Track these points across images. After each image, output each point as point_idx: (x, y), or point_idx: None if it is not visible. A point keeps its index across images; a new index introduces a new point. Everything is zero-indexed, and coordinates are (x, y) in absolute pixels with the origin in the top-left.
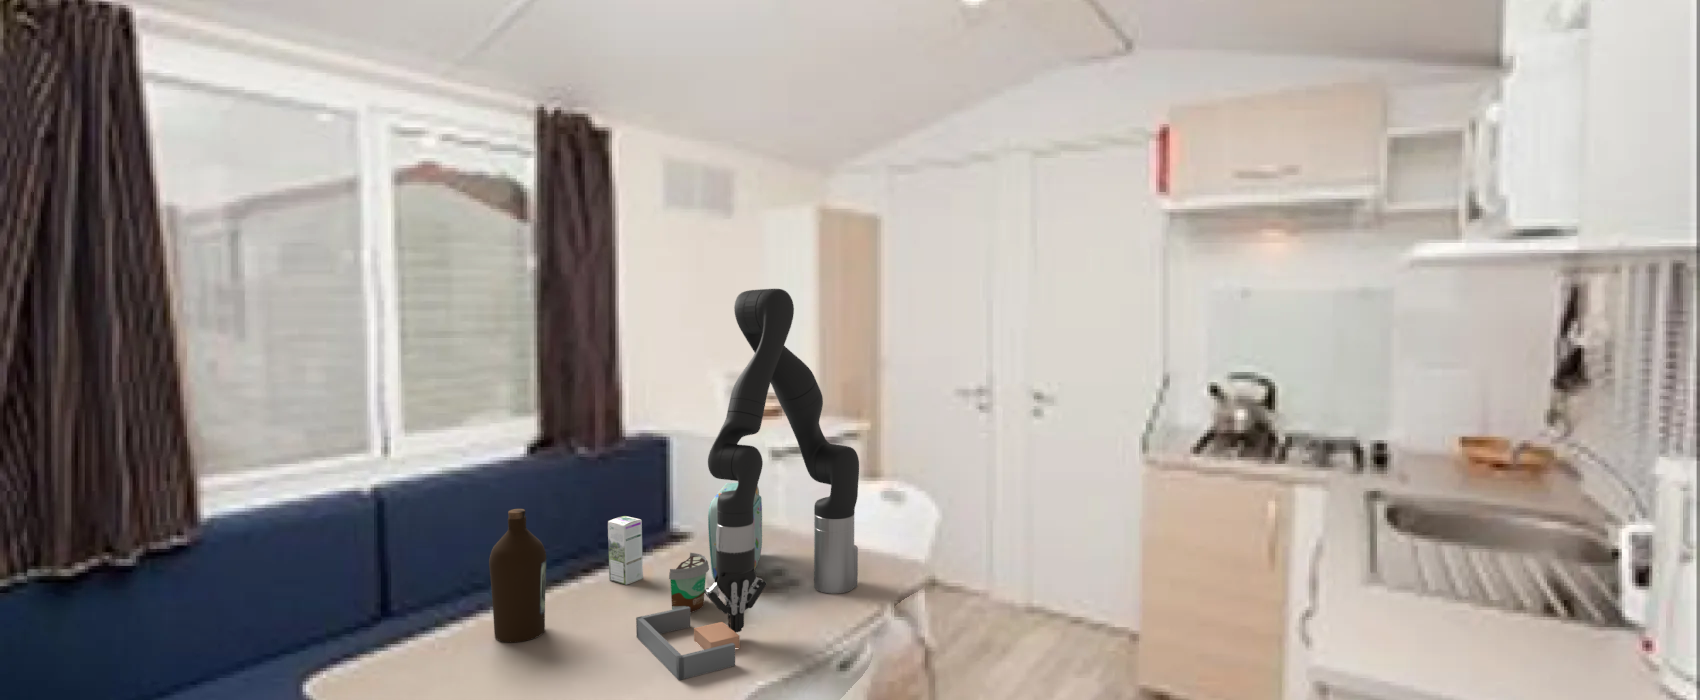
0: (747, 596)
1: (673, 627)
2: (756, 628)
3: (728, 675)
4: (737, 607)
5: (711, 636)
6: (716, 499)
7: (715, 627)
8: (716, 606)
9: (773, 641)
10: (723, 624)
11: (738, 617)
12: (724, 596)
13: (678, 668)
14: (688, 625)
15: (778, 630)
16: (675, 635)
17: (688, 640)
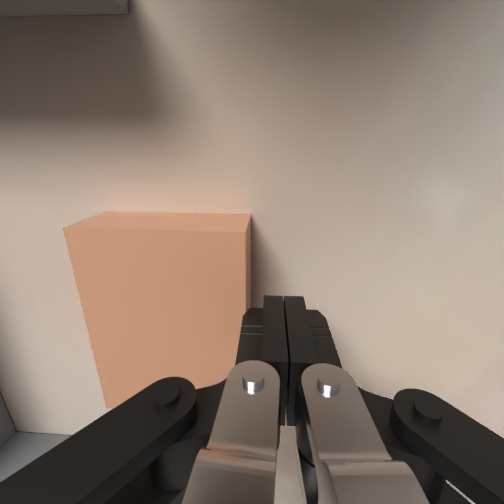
0: (476, 495)
1: (2, 6)
2: (427, 246)
3: None
4: (303, 436)
5: (127, 363)
6: None
7: (180, 284)
8: (111, 417)
9: (392, 388)
10: (236, 272)
11: (286, 404)
12: (188, 483)
13: None
14: (109, 7)
15: (488, 318)
16: (27, 94)
17: (81, 195)
